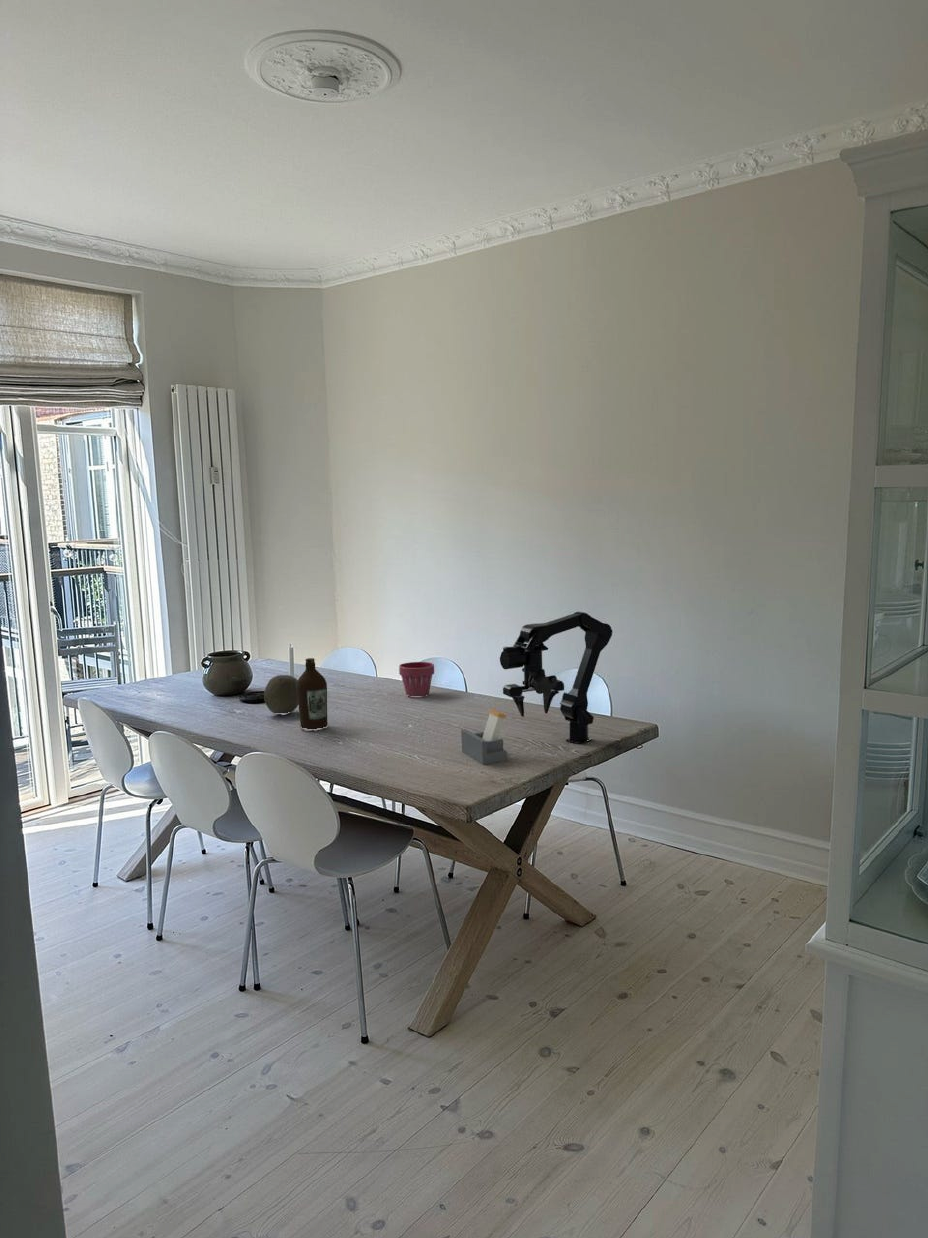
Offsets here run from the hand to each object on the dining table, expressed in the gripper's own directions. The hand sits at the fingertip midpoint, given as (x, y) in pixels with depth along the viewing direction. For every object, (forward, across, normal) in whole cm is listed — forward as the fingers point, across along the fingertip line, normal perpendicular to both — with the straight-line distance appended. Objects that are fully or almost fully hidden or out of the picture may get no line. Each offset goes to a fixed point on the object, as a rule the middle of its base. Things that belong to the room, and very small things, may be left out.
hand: (534, 714), depth 270 cm
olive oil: (+11, -56, +62) cm, 84 cm away
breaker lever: (+8, -15, +1) cm, 17 cm away
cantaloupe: (+11, -61, +89) cm, 109 cm away
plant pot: (+11, -6, +92) cm, 93 cm away
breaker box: (+11, -17, +1) cm, 20 cm away
